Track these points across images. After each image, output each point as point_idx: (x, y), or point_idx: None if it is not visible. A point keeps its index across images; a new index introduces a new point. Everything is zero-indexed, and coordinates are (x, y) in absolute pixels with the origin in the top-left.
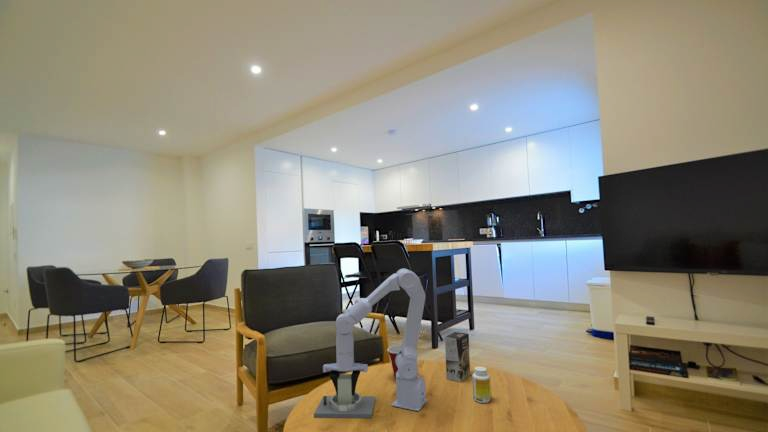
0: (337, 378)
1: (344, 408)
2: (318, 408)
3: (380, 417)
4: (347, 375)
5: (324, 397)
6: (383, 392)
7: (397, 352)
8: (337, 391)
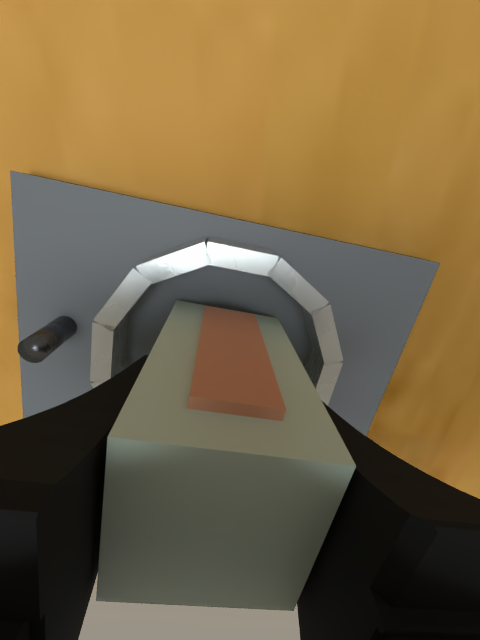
0: (88, 581)
1: None
2: (33, 374)
3: (387, 447)
4: (247, 505)
5: (33, 361)
6: None
7: None
8: None
